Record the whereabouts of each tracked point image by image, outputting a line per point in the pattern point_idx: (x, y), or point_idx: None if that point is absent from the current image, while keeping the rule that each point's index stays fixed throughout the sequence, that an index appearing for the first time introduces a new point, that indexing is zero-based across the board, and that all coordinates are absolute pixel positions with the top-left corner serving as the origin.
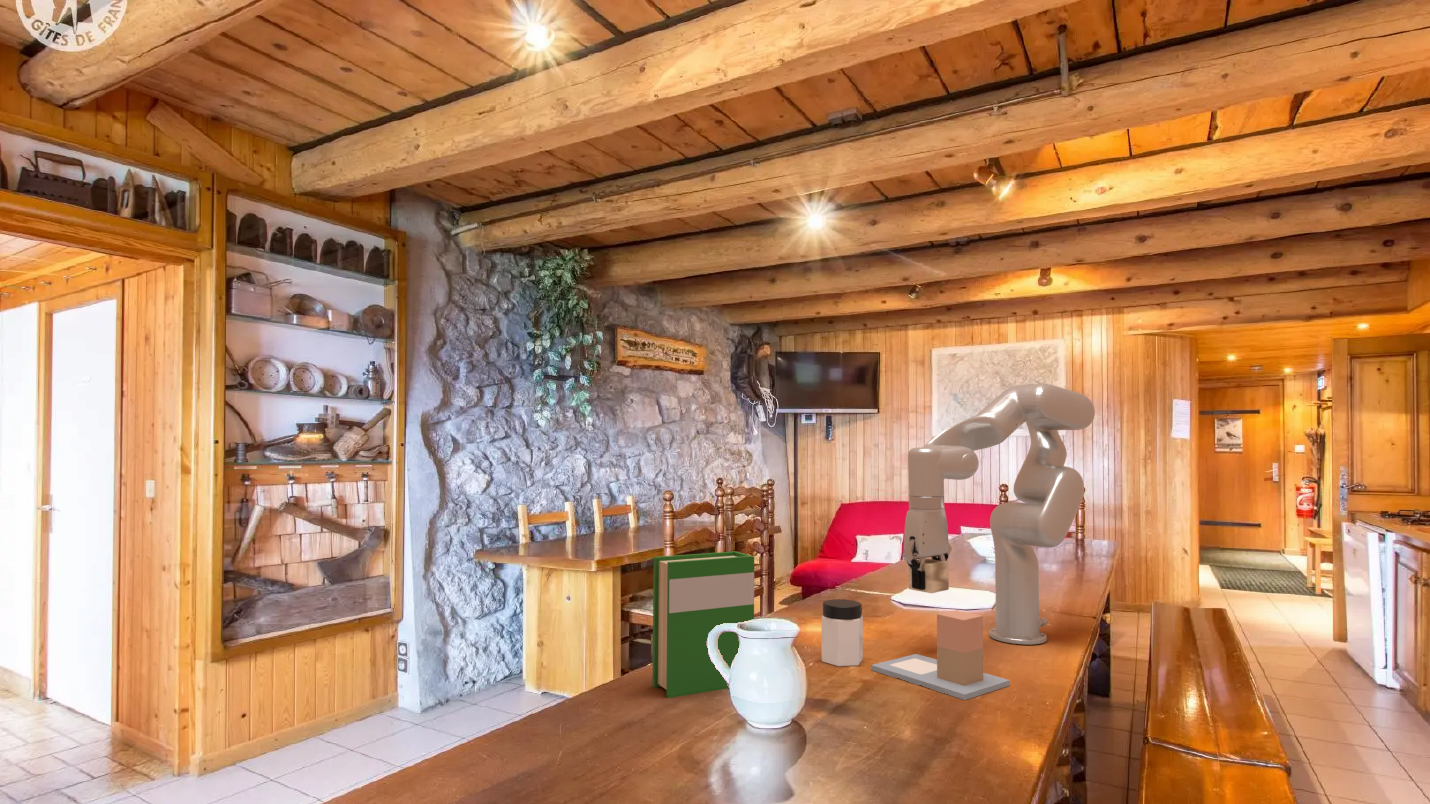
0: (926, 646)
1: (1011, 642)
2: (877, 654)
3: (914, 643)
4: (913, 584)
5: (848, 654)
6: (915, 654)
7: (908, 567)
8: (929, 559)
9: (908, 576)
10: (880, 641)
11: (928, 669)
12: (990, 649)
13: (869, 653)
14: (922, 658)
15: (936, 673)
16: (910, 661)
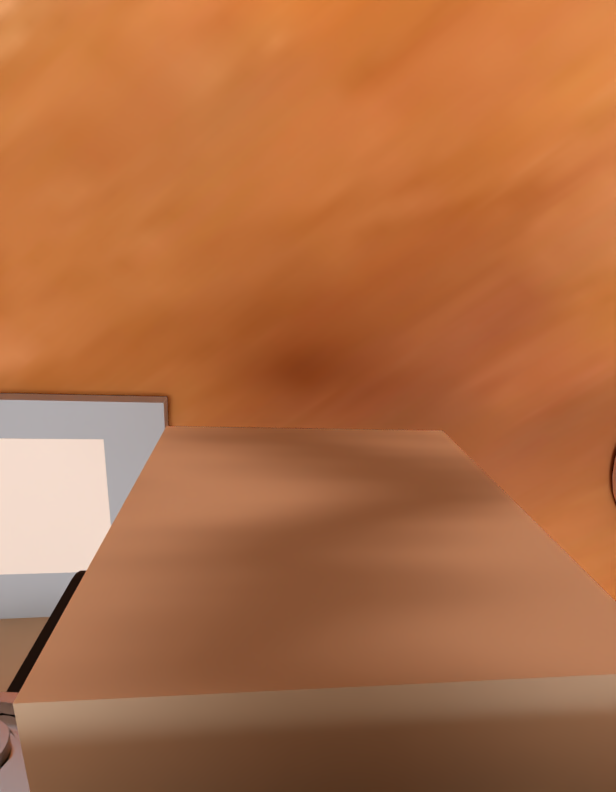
0: (359, 309)
1: (614, 485)
2: (67, 249)
3: (362, 243)
4: (80, 573)
5: None
6: (153, 406)
7: (76, 592)
8: (593, 782)
9: (129, 493)
10: (264, 98)
11: (33, 553)
12: (496, 479)
13: (44, 212)
14: (130, 457)
15: (24, 591)
16: (50, 458)
